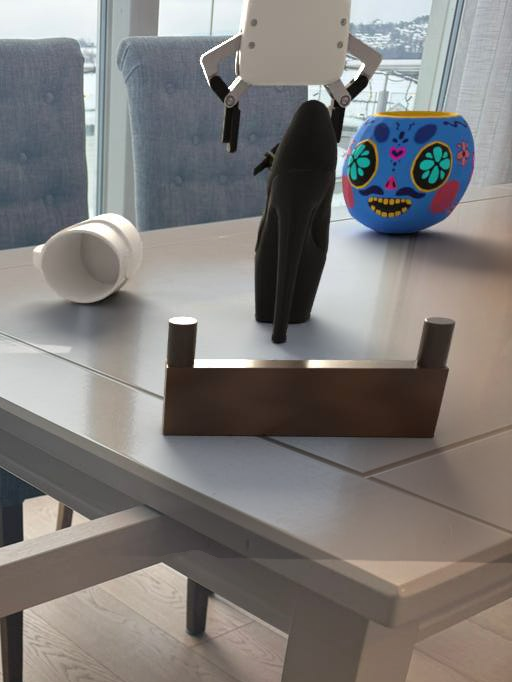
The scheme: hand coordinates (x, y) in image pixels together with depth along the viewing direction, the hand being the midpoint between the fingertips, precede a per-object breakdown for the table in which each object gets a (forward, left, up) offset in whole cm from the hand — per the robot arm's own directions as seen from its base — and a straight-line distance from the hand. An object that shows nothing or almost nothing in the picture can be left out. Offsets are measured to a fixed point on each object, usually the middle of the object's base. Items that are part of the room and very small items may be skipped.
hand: (278, 151), depth 95 cm
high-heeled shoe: (0, +10, -15) cm, 18 cm away
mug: (+20, -2, -15) cm, 25 cm away
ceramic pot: (-24, -41, -15) cm, 50 cm away
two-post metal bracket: (+3, +41, -15) cm, 44 cm away
